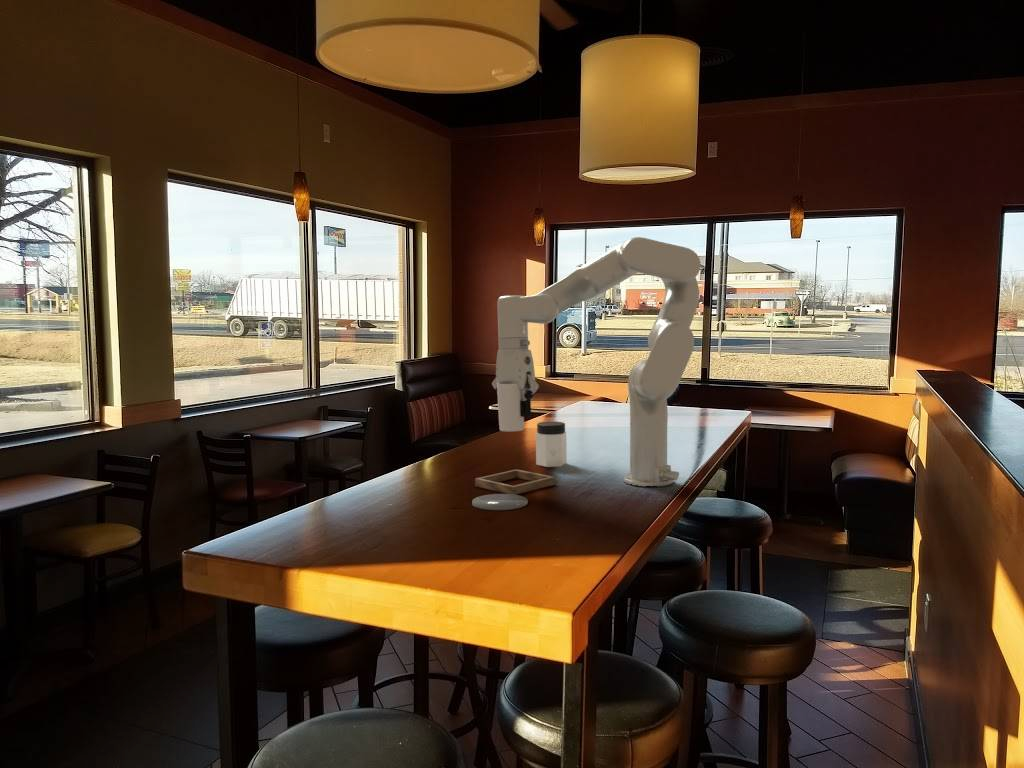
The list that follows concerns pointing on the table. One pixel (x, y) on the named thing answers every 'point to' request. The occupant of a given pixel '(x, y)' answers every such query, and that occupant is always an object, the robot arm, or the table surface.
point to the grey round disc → (499, 502)
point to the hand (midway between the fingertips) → (515, 414)
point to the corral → (536, 483)
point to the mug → (509, 407)
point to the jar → (551, 444)
